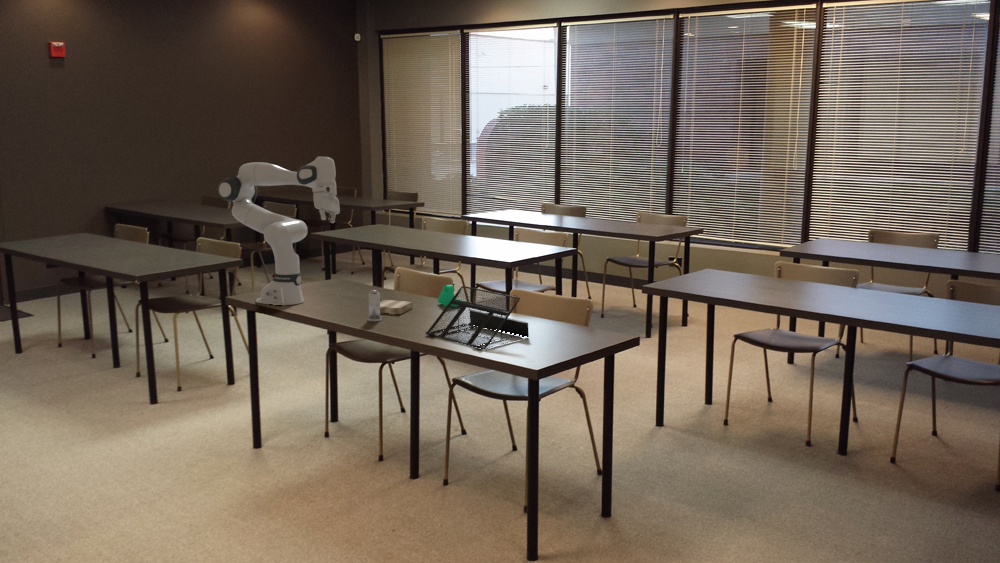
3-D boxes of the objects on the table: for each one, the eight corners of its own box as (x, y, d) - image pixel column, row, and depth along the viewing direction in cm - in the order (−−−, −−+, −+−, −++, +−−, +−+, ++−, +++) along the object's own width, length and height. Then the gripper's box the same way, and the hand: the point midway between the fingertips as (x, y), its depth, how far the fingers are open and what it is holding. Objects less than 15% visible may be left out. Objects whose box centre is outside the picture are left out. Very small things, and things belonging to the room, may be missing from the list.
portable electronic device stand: (423, 336, 334) (423, 292, 330) (471, 325, 354) (472, 283, 350) (482, 352, 312) (482, 306, 308) (530, 339, 332) (531, 295, 328)
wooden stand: (371, 312, 373) (371, 305, 372) (384, 305, 386) (384, 299, 385) (399, 314, 368) (399, 308, 368) (412, 308, 382) (412, 302, 381)
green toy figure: (466, 306, 388) (466, 285, 386) (454, 309, 382) (455, 287, 380) (449, 302, 396) (449, 281, 394) (437, 304, 391) (437, 283, 389)
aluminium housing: (364, 320, 357) (364, 290, 355) (374, 317, 362) (374, 288, 360) (374, 322, 354) (374, 292, 351) (384, 320, 359) (384, 290, 356)
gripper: (330, 195, 386) (331, 225, 384) (310, 188, 366) (311, 218, 365) (342, 194, 384) (343, 223, 383) (323, 186, 364) (324, 217, 363)
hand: (328, 221), depth 374 cm, fingers open, 8 cm apart
